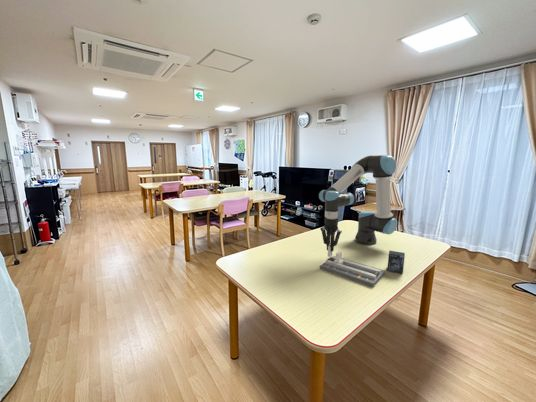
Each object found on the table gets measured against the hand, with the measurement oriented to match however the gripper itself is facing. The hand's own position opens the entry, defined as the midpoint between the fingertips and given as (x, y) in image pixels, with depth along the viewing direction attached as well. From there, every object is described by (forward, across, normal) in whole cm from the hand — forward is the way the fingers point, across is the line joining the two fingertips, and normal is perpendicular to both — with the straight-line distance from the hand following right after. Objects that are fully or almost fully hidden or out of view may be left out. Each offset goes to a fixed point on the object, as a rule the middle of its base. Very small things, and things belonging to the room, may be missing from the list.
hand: (329, 255), depth 143 cm
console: (+5, +14, 0) cm, 15 cm away
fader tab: (+3, +6, 0) cm, 7 cm away
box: (+6, +32, +17) cm, 36 cm away
